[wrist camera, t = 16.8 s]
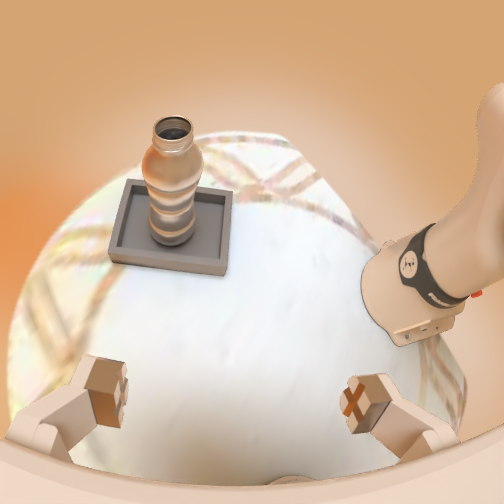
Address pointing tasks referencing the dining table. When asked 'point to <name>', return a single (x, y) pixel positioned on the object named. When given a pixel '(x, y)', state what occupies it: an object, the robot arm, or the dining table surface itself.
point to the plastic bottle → (172, 179)
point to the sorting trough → (178, 256)
